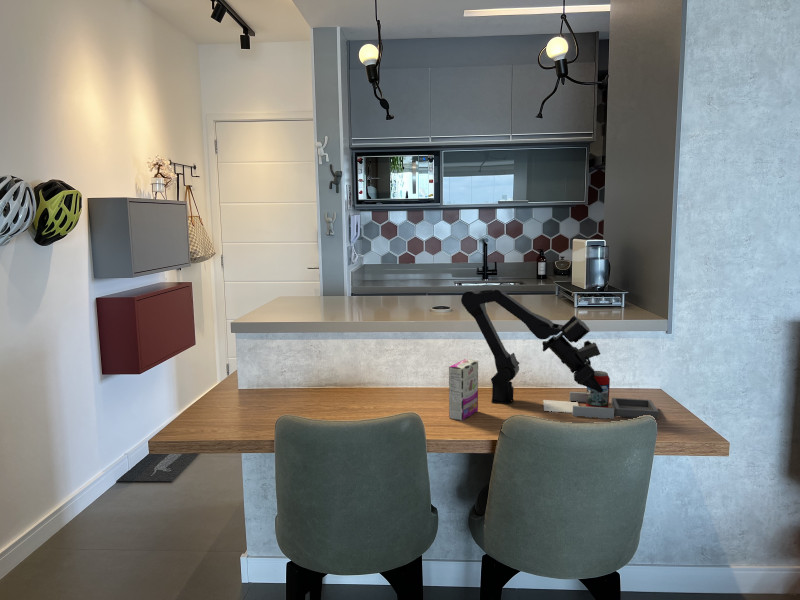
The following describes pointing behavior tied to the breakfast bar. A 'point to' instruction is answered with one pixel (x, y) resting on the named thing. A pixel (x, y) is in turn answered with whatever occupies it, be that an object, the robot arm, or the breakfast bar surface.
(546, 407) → the pad
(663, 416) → the breakfast bar surface
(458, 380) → the candy bar box
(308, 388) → the breakfast bar surface
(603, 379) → the beverage can
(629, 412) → the box
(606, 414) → the channel walls
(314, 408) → the breakfast bar surface
